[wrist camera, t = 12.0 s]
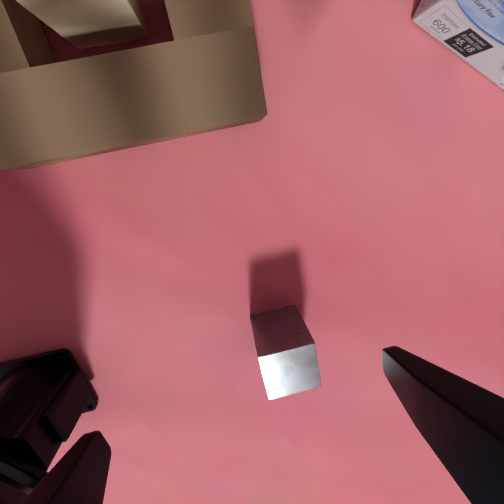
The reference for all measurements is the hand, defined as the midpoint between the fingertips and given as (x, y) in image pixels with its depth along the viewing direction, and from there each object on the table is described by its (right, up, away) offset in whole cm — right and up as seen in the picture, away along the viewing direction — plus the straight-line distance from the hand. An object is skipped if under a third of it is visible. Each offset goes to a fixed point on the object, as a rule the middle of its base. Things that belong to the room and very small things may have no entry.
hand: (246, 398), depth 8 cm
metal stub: (+2, -2, +15) cm, 15 cm away
